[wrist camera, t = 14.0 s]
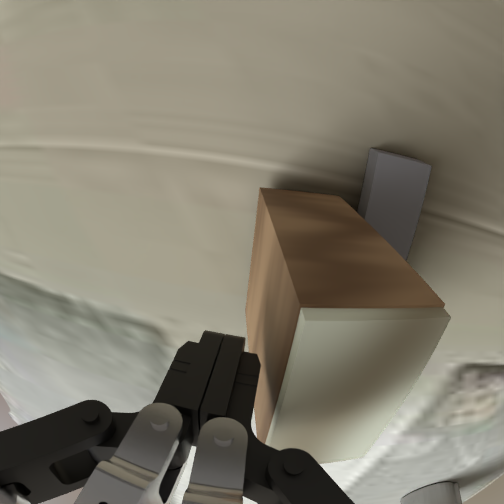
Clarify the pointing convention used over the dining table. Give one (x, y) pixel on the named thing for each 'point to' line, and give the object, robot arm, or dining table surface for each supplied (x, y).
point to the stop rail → (394, 196)
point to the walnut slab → (332, 326)
